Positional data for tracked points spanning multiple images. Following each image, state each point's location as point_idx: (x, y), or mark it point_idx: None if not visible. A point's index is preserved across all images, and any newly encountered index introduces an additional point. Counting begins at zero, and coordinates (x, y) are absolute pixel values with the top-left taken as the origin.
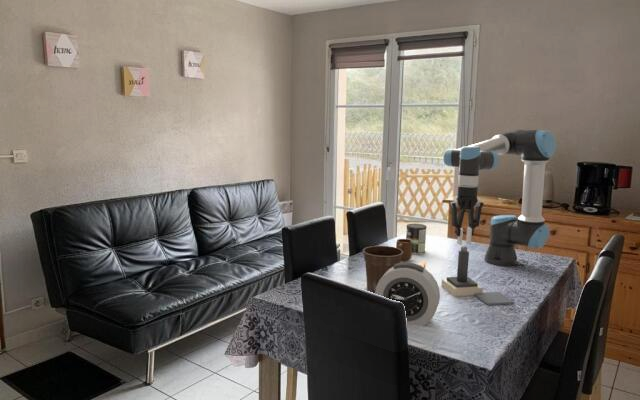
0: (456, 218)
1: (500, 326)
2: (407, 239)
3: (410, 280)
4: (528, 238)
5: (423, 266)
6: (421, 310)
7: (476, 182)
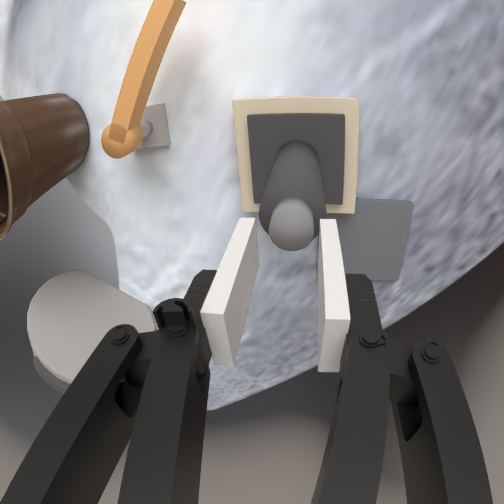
0: (118, 446)
1: (281, 357)
2: None
3: None
4: None
5: (146, 66)
6: None
7: None
